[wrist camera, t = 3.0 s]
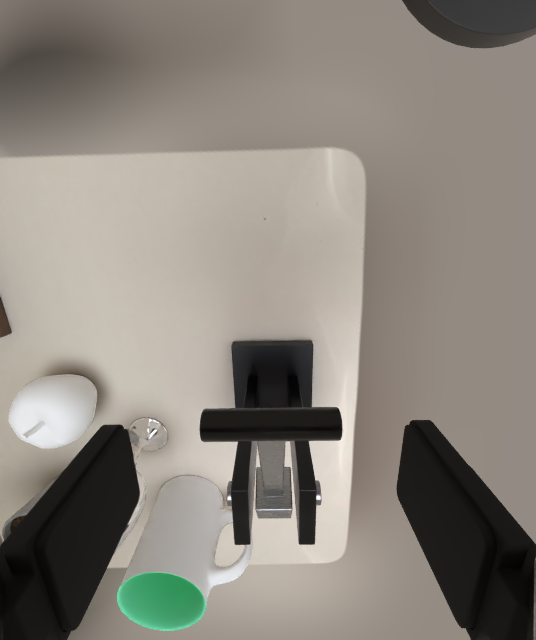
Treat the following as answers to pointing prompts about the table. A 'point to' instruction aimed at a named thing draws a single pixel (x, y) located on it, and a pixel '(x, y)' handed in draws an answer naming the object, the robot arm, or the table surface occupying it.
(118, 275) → the table surface
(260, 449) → the lever
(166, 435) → the wineglass
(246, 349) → the bracket
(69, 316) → the table surface
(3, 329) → the button block
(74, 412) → the plain white apple
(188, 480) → the mug
